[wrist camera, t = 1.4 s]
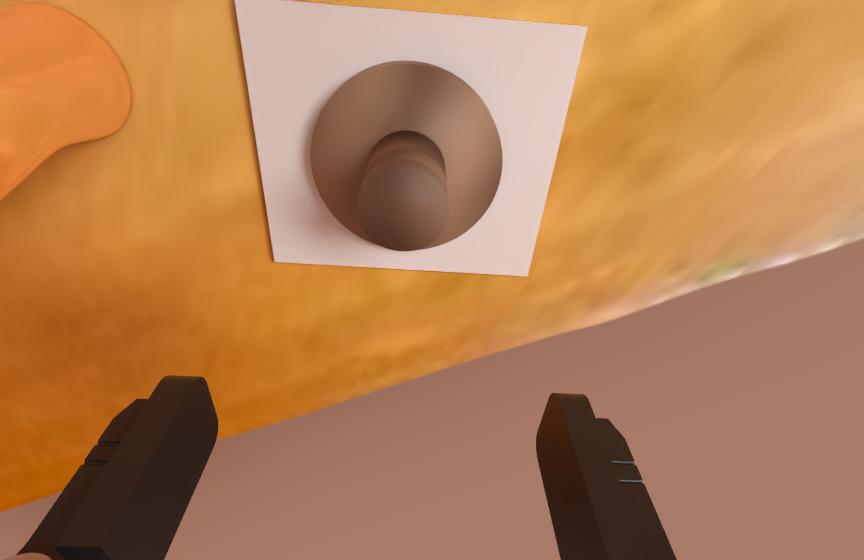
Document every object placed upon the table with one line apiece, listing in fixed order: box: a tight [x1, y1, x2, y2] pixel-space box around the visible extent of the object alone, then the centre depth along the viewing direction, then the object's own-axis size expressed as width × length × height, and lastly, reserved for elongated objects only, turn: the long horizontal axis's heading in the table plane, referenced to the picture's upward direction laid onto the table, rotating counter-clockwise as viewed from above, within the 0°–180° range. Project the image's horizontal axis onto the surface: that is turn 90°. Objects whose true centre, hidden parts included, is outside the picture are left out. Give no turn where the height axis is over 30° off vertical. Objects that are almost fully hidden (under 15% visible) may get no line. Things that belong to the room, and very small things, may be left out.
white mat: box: [235, 0, 588, 276], centre depth 24 cm, size 16×14×1 cm
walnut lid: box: [310, 61, 503, 251], centre depth 22 cm, size 10×10×6 cm
